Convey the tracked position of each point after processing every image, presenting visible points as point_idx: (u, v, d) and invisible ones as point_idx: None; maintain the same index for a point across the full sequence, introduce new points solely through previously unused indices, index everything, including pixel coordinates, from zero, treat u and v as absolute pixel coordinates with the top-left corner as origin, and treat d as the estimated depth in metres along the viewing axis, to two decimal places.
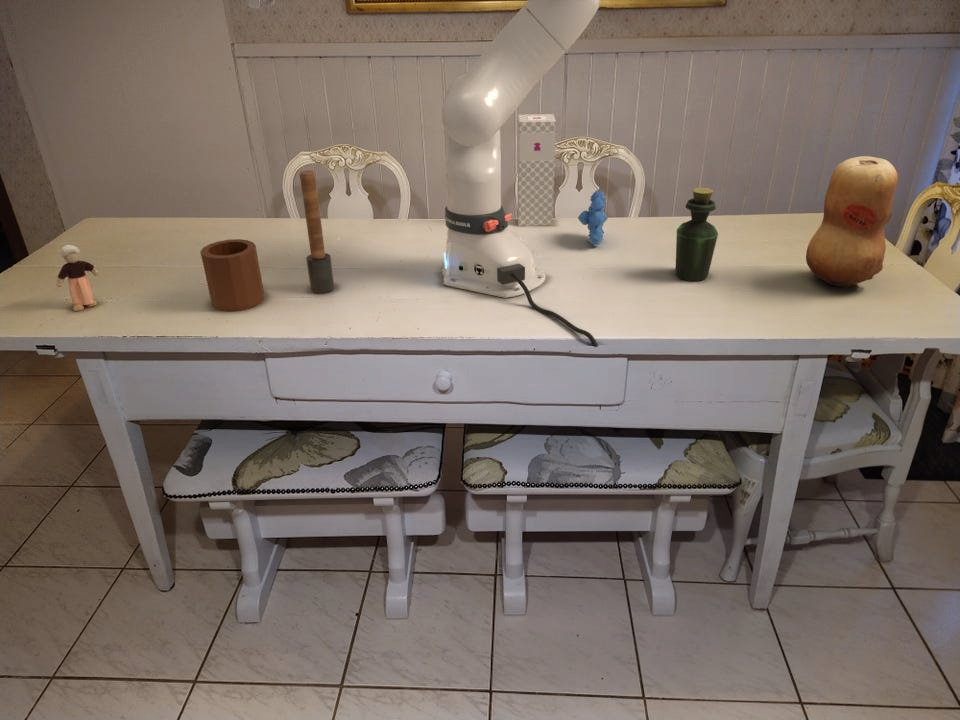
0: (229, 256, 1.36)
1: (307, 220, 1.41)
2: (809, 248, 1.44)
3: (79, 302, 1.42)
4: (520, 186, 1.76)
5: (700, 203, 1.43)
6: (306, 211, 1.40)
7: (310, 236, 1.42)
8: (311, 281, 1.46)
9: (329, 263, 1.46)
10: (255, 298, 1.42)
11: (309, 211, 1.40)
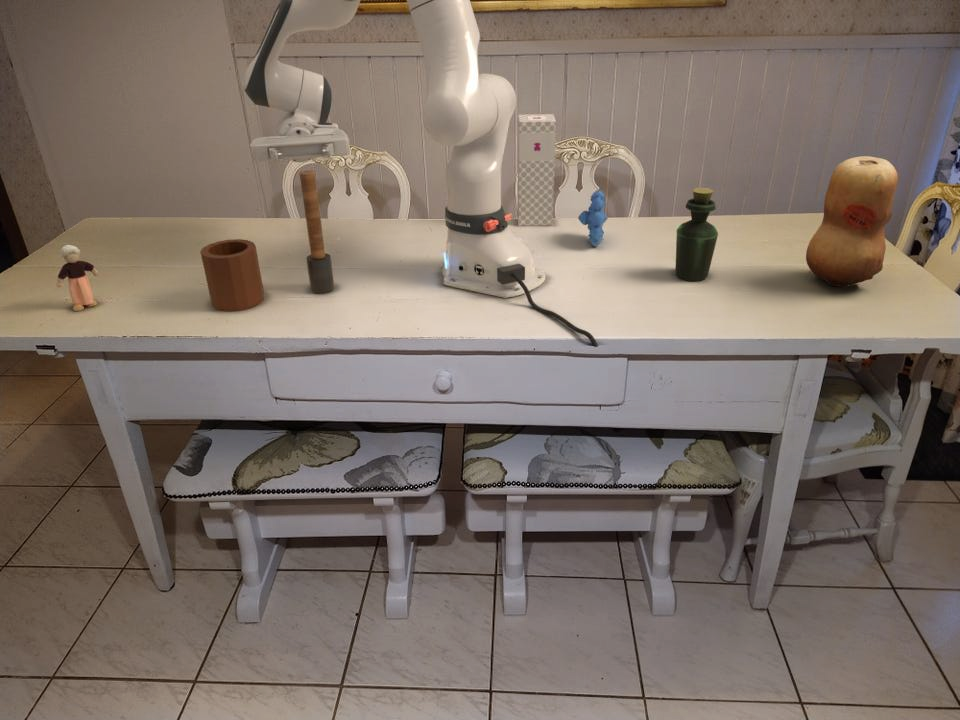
0: (229, 256, 1.36)
1: (307, 220, 1.41)
2: (809, 248, 1.44)
3: (79, 302, 1.42)
4: (520, 186, 1.76)
5: (700, 203, 1.43)
6: (306, 211, 1.40)
7: (310, 236, 1.42)
8: (311, 281, 1.46)
9: (329, 263, 1.46)
10: (255, 298, 1.42)
11: (309, 211, 1.40)
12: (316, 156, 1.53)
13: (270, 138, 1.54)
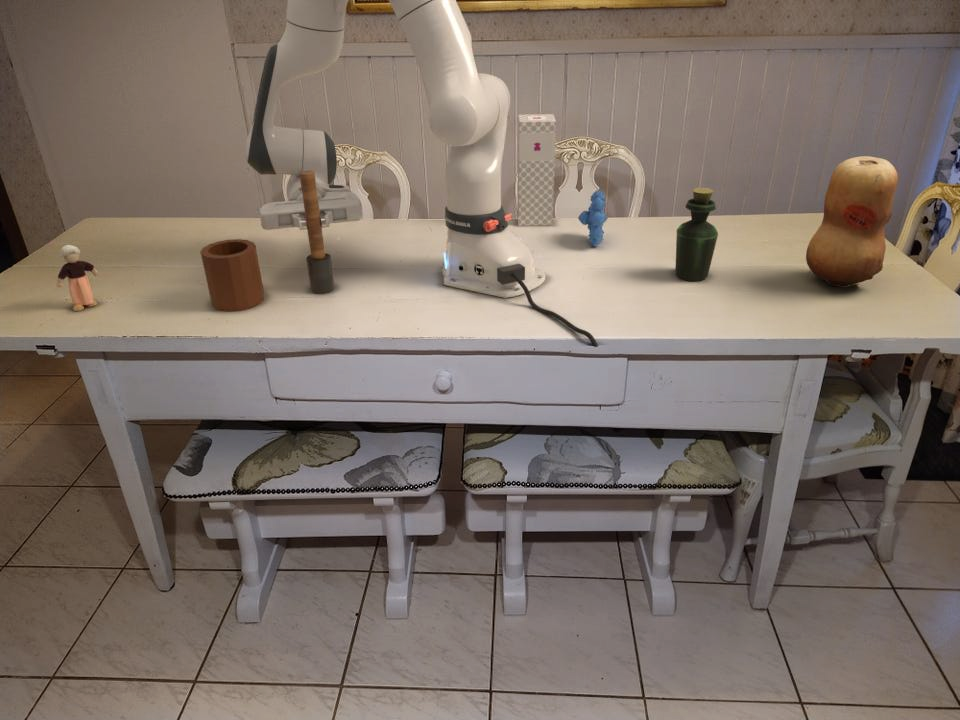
0: (229, 256, 1.36)
1: (307, 220, 1.41)
2: (809, 248, 1.44)
3: (79, 302, 1.42)
4: (520, 186, 1.76)
5: (700, 203, 1.43)
6: (306, 211, 1.40)
7: (310, 236, 1.42)
8: (311, 281, 1.46)
9: (329, 263, 1.46)
10: (255, 298, 1.42)
11: (309, 211, 1.40)
12: None
13: (280, 204, 1.48)
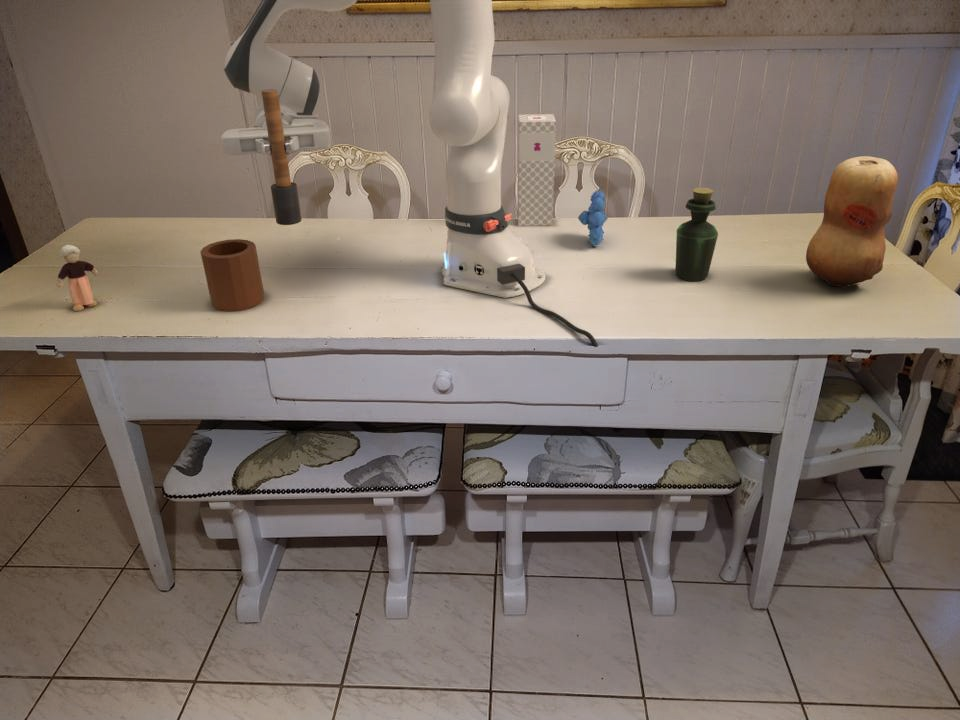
0: (229, 256, 1.36)
1: (271, 143, 1.32)
2: (809, 248, 1.44)
3: (79, 302, 1.42)
4: (520, 186, 1.76)
5: (700, 203, 1.43)
6: (269, 133, 1.32)
7: (274, 161, 1.34)
8: (276, 211, 1.38)
9: (295, 192, 1.37)
10: (255, 298, 1.42)
11: (272, 133, 1.31)
12: (294, 149, 1.38)
13: (243, 130, 1.40)
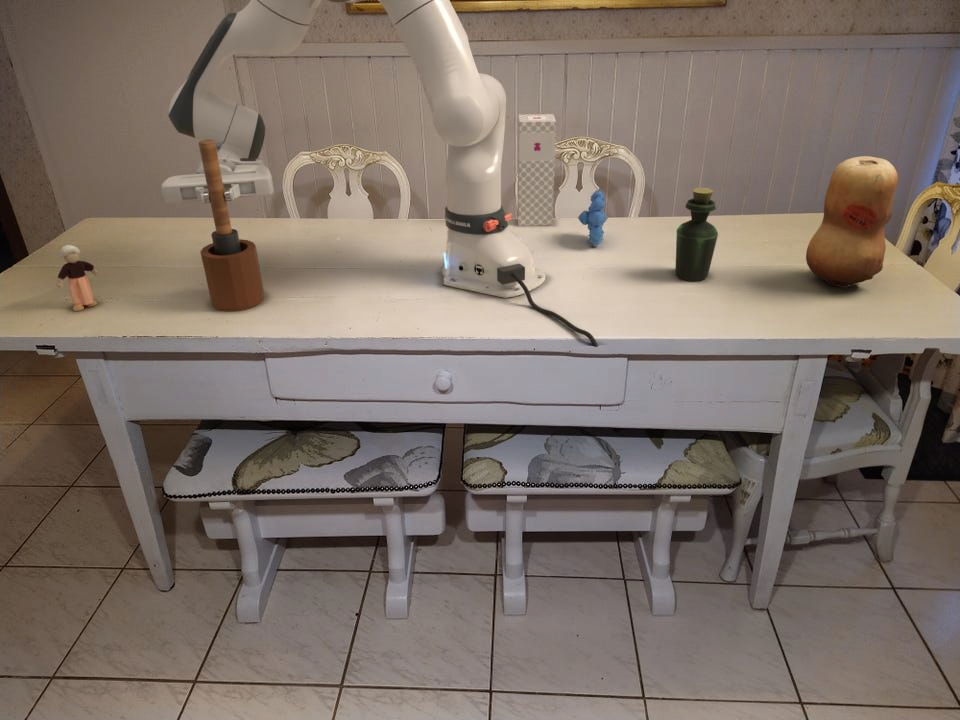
0: (229, 256, 1.36)
1: (209, 192, 1.33)
2: (809, 248, 1.44)
3: (79, 302, 1.42)
4: (520, 186, 1.76)
5: (700, 203, 1.43)
6: (207, 183, 1.32)
7: (213, 210, 1.35)
8: None
9: (235, 239, 1.38)
10: (255, 298, 1.42)
11: (210, 183, 1.32)
12: None
13: (185, 177, 1.40)
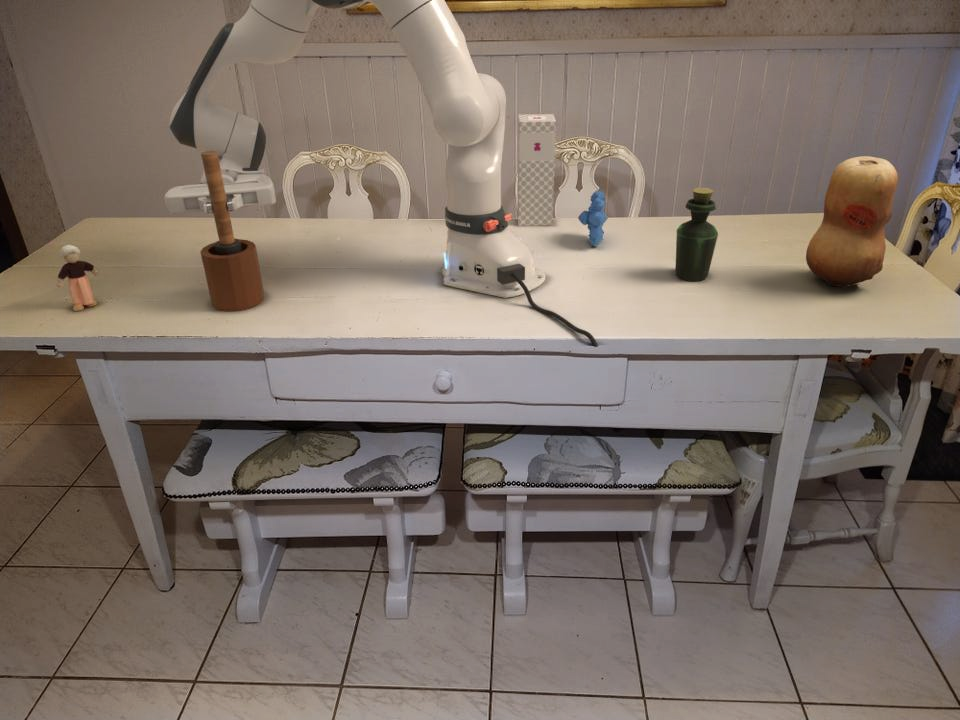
0: (229, 256, 1.36)
1: (212, 203, 1.34)
2: (809, 248, 1.44)
3: (79, 302, 1.42)
4: (520, 186, 1.76)
5: (700, 203, 1.43)
6: (210, 194, 1.33)
7: (216, 220, 1.36)
8: None
9: (238, 249, 1.39)
10: (255, 298, 1.42)
11: (213, 194, 1.33)
12: None
13: (188, 187, 1.41)
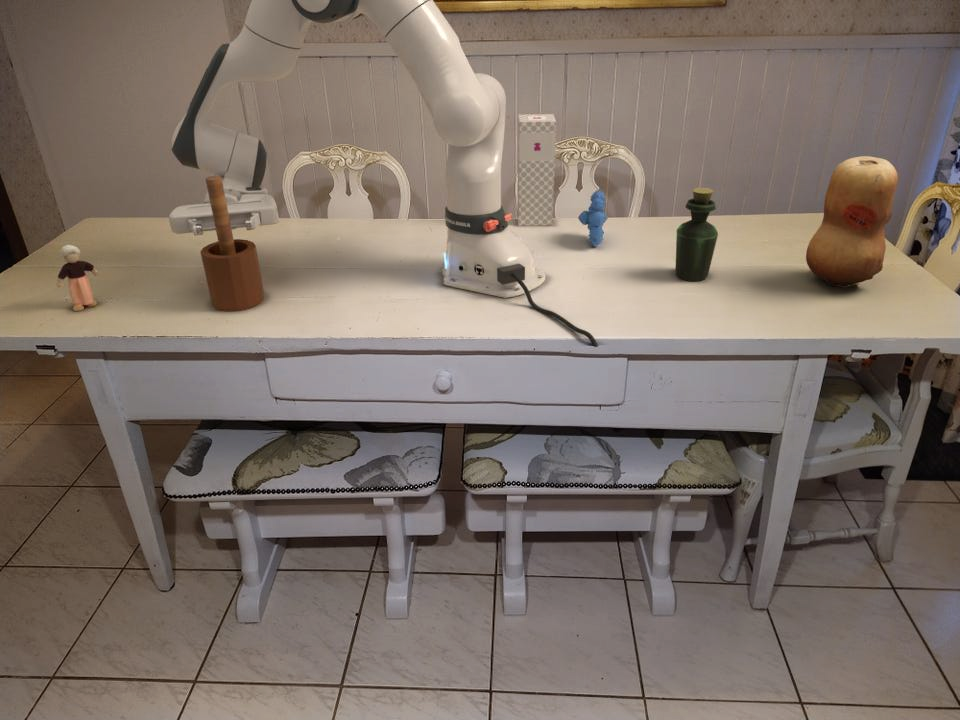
0: (229, 256, 1.36)
1: (216, 227, 1.36)
2: (809, 248, 1.44)
3: (79, 302, 1.42)
4: (520, 186, 1.76)
5: (700, 203, 1.43)
6: (214, 218, 1.36)
7: (220, 243, 1.38)
8: None
9: None
10: (255, 298, 1.42)
11: (217, 218, 1.35)
12: (241, 226, 1.42)
13: (192, 207, 1.43)
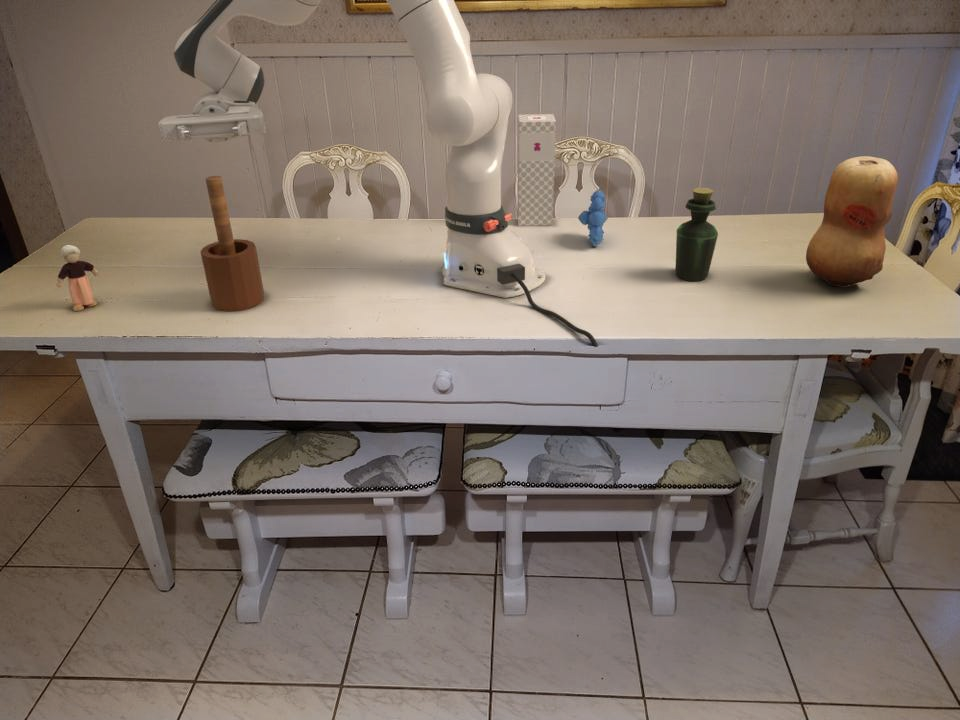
0: (229, 256, 1.36)
1: (216, 227, 1.36)
2: (809, 248, 1.44)
3: (79, 302, 1.42)
4: (520, 186, 1.76)
5: (700, 203, 1.43)
6: (214, 218, 1.36)
7: (220, 243, 1.38)
8: None
9: None
10: (255, 298, 1.42)
11: (217, 218, 1.35)
12: (229, 135, 1.46)
13: (181, 116, 1.47)
